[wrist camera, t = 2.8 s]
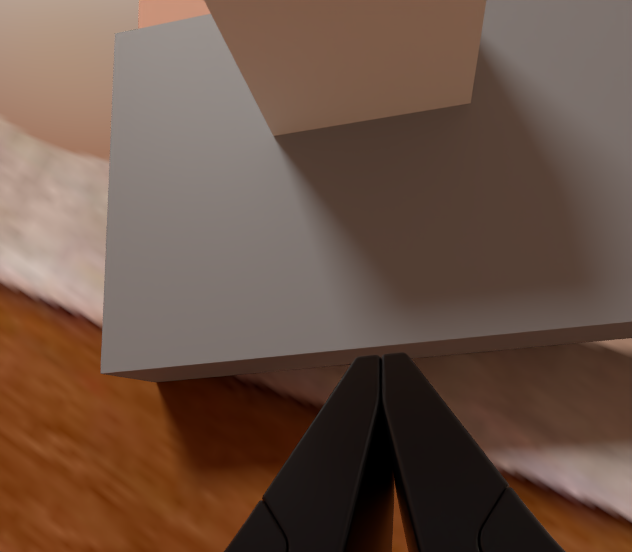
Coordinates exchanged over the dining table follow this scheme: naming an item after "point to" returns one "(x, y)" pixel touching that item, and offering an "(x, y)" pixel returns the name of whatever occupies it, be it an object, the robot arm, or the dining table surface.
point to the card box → (351, 57)
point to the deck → (370, 207)
